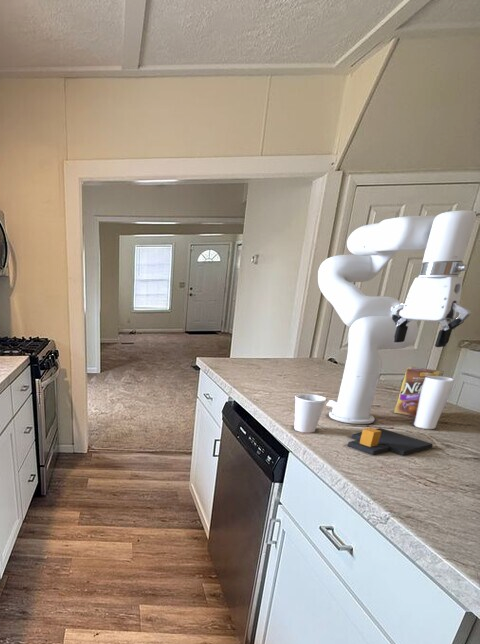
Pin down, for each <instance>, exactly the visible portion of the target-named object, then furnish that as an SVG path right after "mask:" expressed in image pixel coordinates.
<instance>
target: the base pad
mask: <svg viewBox="0 0 480 644" xmlns="http://www.w3.org/2000/svg"><path fill="white" fill-rule="evenodd" d="M375 429H376V430H380V431H382V432H381V435H380V439H379V440H380V441H383V442H387V443H388V444H385V445H384V446H387V447H389V449H388V452H392V453H394V454H398V455H400V456H405V455H409V454H413V453H417V452H421V451H425V450H429V449H432V448H433V444H434V443H432V442H428V441H424V440H422V439H418V438H415V437H412V436H409V435H406V434H405V435H404V434H402V433H399V432H395V431H392V430H389V429H385V428H382V427H379V428H375ZM361 435H362V431H359V432H355V433H352V435H351V439H354V440H359V439H361Z"/></svg>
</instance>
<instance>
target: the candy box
mask: <svg viewBox="0 0 480 644" xmlns="http://www.w3.org/2000/svg"><path fill="white" fill-rule="evenodd" d="M444 373H445V371H444V370H437V369H431V368H422V367H415V366H409V367H407V368H406V369H405V373H404V376H403V380H402V383H401V386H400V391H399V395H398V398H397V401H396V405H395V408H394V411H393V412H394V414H400V415H404V416H409V417H414V418H416V413H417V408H418V403H419V397H420V392H421V388H422V385H423V382H424V379H425V377H426V376H441V377H444Z"/></svg>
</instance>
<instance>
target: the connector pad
mask: <svg viewBox="0 0 480 644" xmlns="http://www.w3.org/2000/svg"><path fill="white" fill-rule="evenodd" d="M376 429H377V428H373V427H368V428H363V429H362V431H361V432H362V435H361V439H359V440H356V439H354V440H351V441H348V443H347V447H349V448H353V449H355V450H358V451H361V452H364V453H366V454H369V455H372V456H373V455H378V454H383V453H386V452H387V453H388V452H389V450H388V449H389V447H387V446H384V445H385V444H388V443H387V442H383V441H380V440H379V439H380V435H381V432H382V431H380V430H376Z"/></svg>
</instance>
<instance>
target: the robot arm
mask: <svg viewBox="0 0 480 644" xmlns="http://www.w3.org/2000/svg"><path fill="white" fill-rule="evenodd" d="M476 218H477V213H476V211H474V210H470V209H462V210H461V209H460V210H450V211H446V212H445V211H444V212H441V213H439V214H438V215H406V216H398V217H397V216H396V217H392V218H391V217H390V218H386V219H383V220H381V221H380V222H377V223H369V224H365V225H362V226H359V227H357V228H355V229H354V230H353V231H352V232H351V233H350V234H349V236H348V237H347V241H346V248H347V249H348V251H349V252H350V253H351V254H338V255H333V256H330V257H328V258H326V259H324V260H323V261H322V262H321V264H320V265H319V268H318V271H317V284H318V288H319V290H320V292H321V294H322V296H323V297H324V298H325V299H326V300H327V301H328V302H329V304H331V305H332V307H333V308H334V310H335V312H336V313H337V315H338V317H339V318H340V319H341V322H343V324H344V325H345V326H347V327H348V328H349V330H348V334H347V354H346V360H345V365H344V369H343V374H342V379H341V384H340V387H339V392H338V397H337V400H333V399H329V400H328V401H327V403H325V404H326V405H325V406H326V407H329V408H332V409H331V410H330V411H329V413H328V416H329V418H331V419H332V420H335V421H337V422H340V423H341V422H342V423H346V424H351V425H368V424H372V423H374V422H375V416H373V415H372V414H371V411H372V408H373V403H374V399H375V395H376V392H377V388H378V383H379V380H380V375H381V372H382V368H383V361H382V357H381V356H380V354H379V352H378V351H379V350H399V349H400V350H402V349H406V348H408V347H410V346H411V345H412V344H414V342H415V341H416V340H417V338H418V334H419V326H418V323H417V321H425V322H438V323H439V325H440V326H441V329H440V330H439V331H438V334H437V338H436V341H435V344H434V347H435V348H444V347H446V345H447V344H448V343H449V341H450V337H451V335H452V332H453V330H455V329H456V328H457V327H459V326H461V325H462V324H463V323H464V322H465V321H466V320H467V319H468V317H470V315H471V314H472V311H471V310H470V309H468V308H467V307H465V306H463V305H462V304H460V303H461V298H462V292H463V291H462V289H463V276H459V275H461V272H465V271H467V270H468V267H469V266H468V264H464V260H465V256H466V253H467V249H468V246H469V242H470V239H471V236H472V232H473V229H474V227H475V222H476V220H477V219H476ZM398 251H424V255H423V258H422V262H421V266H420V269H419V273H418V277H415V278H414V280H413V282H412V284H411V286H410V288H409V290H408V293H407V296H406V298H405V302H401V301H400V300H399V299H397V298H396V297H392V296H388V295H387V296H386V295H382V296H381V295H379V296H378V295H377V296H375V295H374V296H373V295H366V294H364V293H363V292H362V290H361V288H359V287H358V285H356V284H354V283H366V282H369V281H372V280H373V279H374V278H376V277H377V276H378V275H379V273H380V272H381V271H382V270H383V269H384V268H385V266H386V265H387V264H389V262H390V261H391V260H392V258H394V256H395V255H396V253H398ZM457 315H458V316H457ZM456 316H457V318H456Z"/></svg>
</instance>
